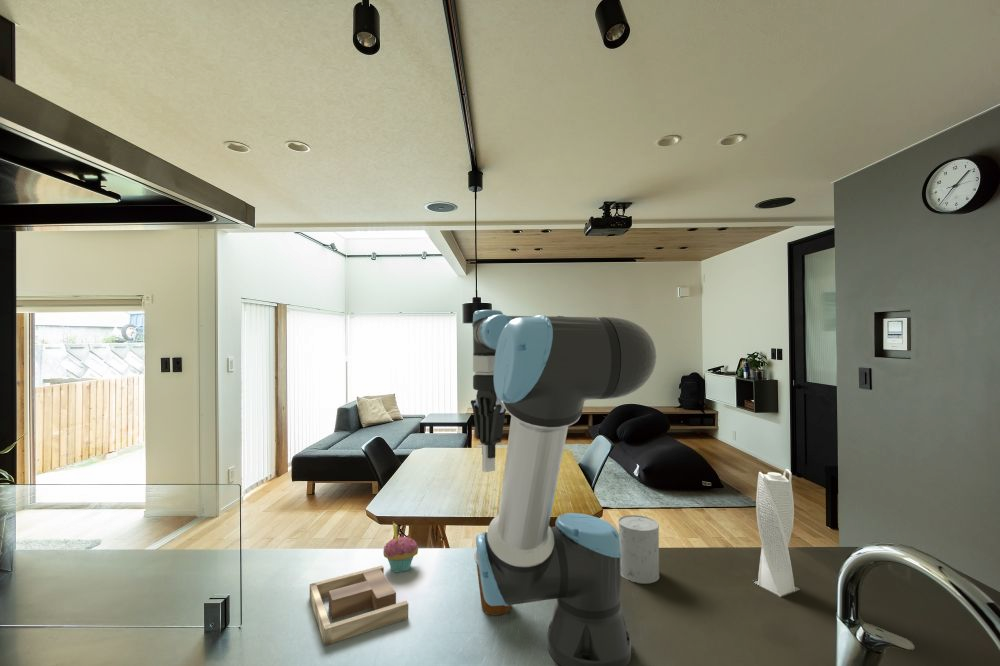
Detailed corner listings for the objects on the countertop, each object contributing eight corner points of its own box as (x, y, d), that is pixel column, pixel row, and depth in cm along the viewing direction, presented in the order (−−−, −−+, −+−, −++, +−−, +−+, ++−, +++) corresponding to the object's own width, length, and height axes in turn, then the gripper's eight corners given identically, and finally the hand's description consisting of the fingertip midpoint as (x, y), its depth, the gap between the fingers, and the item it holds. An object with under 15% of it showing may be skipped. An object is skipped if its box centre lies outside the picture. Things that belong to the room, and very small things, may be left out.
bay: (408, 618, 92) (408, 603, 92) (324, 645, 84) (324, 629, 84) (382, 578, 108) (382, 565, 108) (309, 597, 99) (309, 584, 99)
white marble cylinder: (610, 568, 112) (610, 518, 112) (640, 560, 116) (639, 512, 117) (637, 587, 104) (636, 533, 104) (668, 578, 108) (667, 526, 108)
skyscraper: (806, 594, 101) (804, 469, 102) (783, 603, 98) (781, 473, 98) (770, 576, 109) (768, 460, 109) (748, 584, 105) (746, 464, 106)
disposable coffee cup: (519, 595, 100) (519, 541, 101) (517, 621, 91) (517, 561, 91) (477, 593, 101) (477, 539, 101) (470, 618, 92) (470, 559, 92)
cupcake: (392, 579, 107) (392, 529, 107) (377, 566, 113) (377, 518, 114) (424, 568, 112) (424, 519, 113) (408, 556, 119) (408, 510, 119)
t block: (396, 612, 94) (396, 592, 94) (336, 631, 88) (336, 610, 88) (379, 585, 104) (379, 568, 104) (325, 600, 98) (325, 582, 98)
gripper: (516, 374, 107) (517, 474, 106) (486, 371, 117) (486, 463, 117) (490, 375, 102) (490, 479, 102) (461, 372, 113) (461, 467, 112)
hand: (488, 470), depth 109 cm, fingers closed
